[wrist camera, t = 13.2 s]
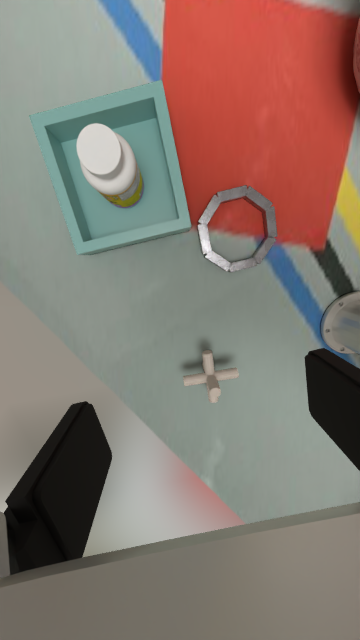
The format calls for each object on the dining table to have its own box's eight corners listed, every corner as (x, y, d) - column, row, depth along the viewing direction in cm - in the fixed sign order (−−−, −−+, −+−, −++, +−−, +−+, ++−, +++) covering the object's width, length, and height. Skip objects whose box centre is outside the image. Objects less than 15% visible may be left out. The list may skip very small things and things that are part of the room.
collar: (267, 181, 37) (271, 178, 36) (275, 260, 41) (279, 260, 39) (191, 200, 37) (192, 198, 36) (206, 276, 41) (207, 277, 40)
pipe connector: (178, 346, 45) (180, 370, 35) (227, 337, 44) (243, 360, 35) (186, 388, 47) (189, 422, 38) (232, 381, 47) (248, 413, 38)
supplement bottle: (94, 181, 35) (52, 139, 23) (126, 153, 34) (100, 94, 22) (121, 218, 37) (95, 197, 24) (153, 192, 36) (142, 157, 24)
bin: (163, 107, 34) (161, 79, 29) (188, 230, 39) (191, 226, 33) (51, 137, 34) (29, 115, 29) (90, 254, 39) (77, 254, 34)
